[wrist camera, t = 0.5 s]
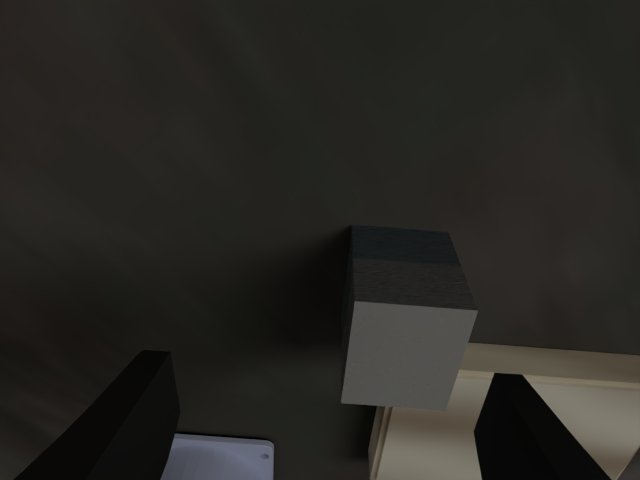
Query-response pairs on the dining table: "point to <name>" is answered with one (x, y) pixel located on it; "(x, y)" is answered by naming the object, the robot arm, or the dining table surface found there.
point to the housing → (403, 318)
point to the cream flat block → (549, 382)
